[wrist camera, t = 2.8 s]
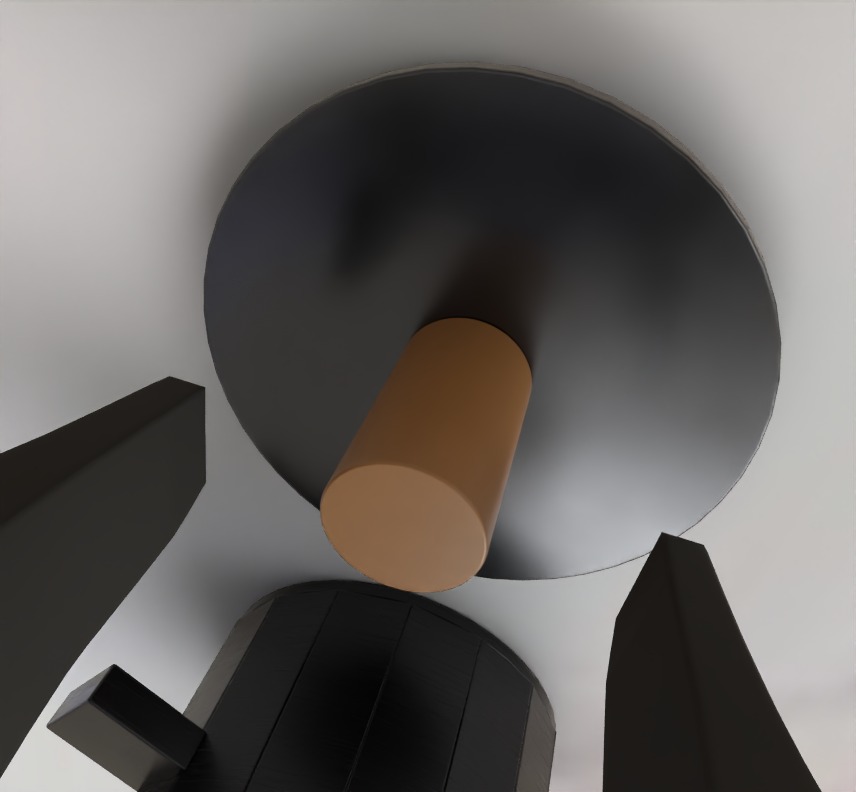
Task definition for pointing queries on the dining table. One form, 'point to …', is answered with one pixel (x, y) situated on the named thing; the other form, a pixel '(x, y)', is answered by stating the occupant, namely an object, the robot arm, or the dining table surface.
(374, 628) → the pot
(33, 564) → the robot arm
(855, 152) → the dining table surface
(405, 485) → the lid
